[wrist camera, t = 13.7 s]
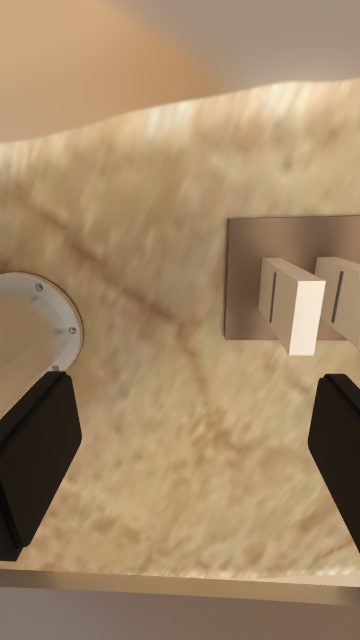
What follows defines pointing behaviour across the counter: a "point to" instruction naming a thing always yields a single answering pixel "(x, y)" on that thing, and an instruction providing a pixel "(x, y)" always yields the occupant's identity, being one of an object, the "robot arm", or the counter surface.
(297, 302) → the domino
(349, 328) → the domino
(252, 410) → the counter surface
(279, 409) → the counter surface
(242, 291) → the walnut board
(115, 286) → the counter surface
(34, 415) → the robot arm
